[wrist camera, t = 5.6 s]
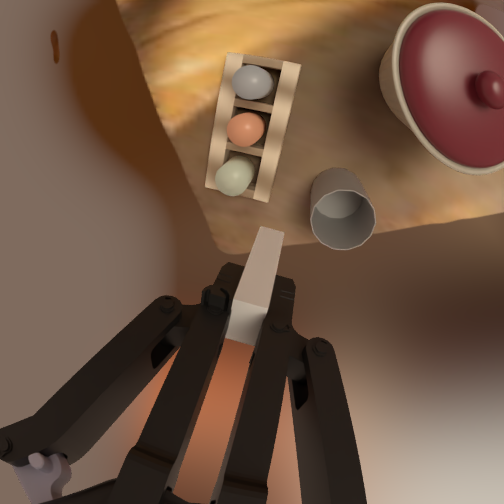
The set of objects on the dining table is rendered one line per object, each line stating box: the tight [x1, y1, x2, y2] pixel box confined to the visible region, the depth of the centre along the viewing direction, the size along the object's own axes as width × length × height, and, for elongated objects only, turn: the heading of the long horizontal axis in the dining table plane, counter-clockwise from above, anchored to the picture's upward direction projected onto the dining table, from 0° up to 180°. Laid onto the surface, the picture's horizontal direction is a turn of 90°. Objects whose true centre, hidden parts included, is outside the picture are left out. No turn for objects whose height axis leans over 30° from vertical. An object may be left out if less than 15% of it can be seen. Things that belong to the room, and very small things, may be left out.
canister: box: [379, 3, 504, 175], centre depth 20 cm, size 18×18×21 cm
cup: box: [310, 168, 376, 250], centre depth 37 cm, size 8×8×10 cm
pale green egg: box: [215, 156, 255, 196], centre depth 37 cm, size 4×4×5 cm
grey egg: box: [232, 65, 274, 99], centre depth 29 cm, size 4×4×5 cm
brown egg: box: [227, 112, 266, 147], centre depth 35 cm, size 4×4×5 cm
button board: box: [205, 52, 302, 203], centre depth 36 cm, size 21×10×3 cm, turn 169°
